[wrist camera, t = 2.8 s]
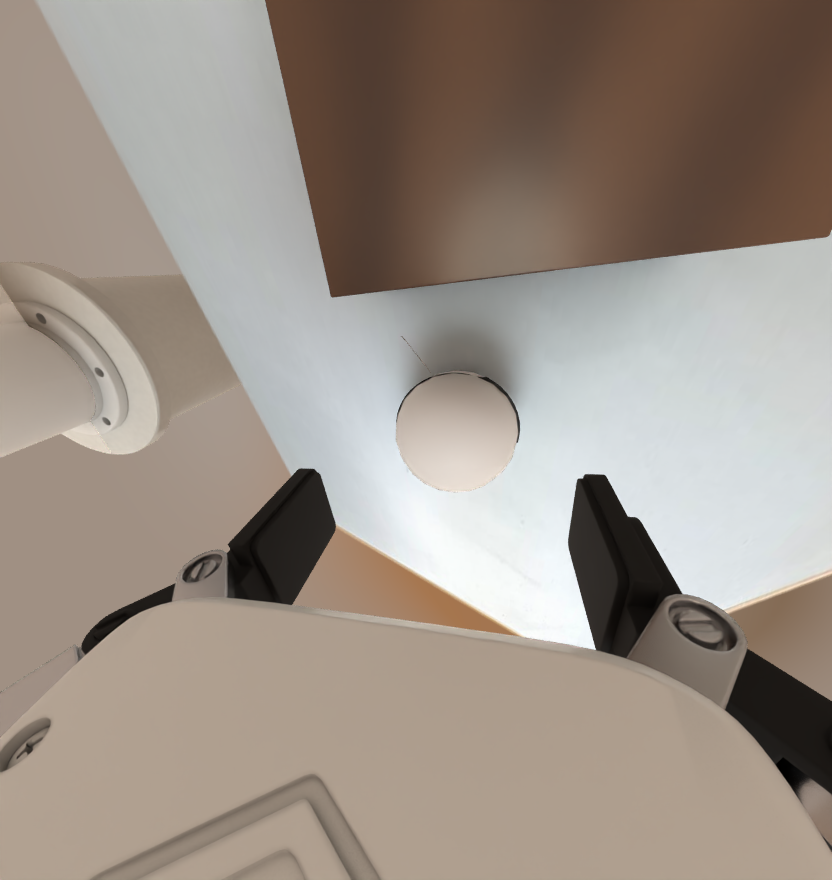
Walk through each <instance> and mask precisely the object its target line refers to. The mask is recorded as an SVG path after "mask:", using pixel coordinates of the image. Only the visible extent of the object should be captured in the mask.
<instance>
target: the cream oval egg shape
mask: <svg viewBox="0 0 832 880" xmlns="http://www.w3.org/2000/svg"><path fill="white" fill-rule="evenodd" d="M402 338H403V337H402ZM403 339H404V338H403ZM404 340H405V339H404ZM405 341H406V340H405ZM406 342H407V341H406ZM407 343H408V342H407ZM409 346H410V345H409ZM410 347H411V346H410ZM412 350H413V349H412ZM413 351H414V350H413ZM415 354H416V353H415ZM416 355H417V354H416ZM417 356H418V355H417ZM419 359H420V358H419ZM420 360H421V359H420ZM421 361H422V360H421ZM422 362H423V361H422ZM423 363H424V362H423ZM425 366H426V365H425ZM426 367H427V366H426ZM427 369H428V368H427ZM428 370H429V369H428ZM430 373H431V372H430ZM519 434H520V421H519V416H518V412H517V410H516V407H515V405H514V403H513V401H512V399H511V398H510V397H509V395H508V394H507V393H506V392H505V391H504V390H503V388H502V387H501V386H499V385H498V384H497V383H495V382H494V381H492V380H491V379H489V378H487V377H483V376H480V375H478V374H476V373H474V372H466V371H457V370H454V371H449V372H443V373H438V374H436V375H434V376H432V377H429V378H427V379H425V380H423V381H422V382H420V383H419V384H417V385H416V386H415V387H413V388H412V389H411V390H410V391H409V392H408V394H407V395H406V396H405V398H404V399H403V401H402V403H401V405H400V407H399V410H398V413H397V420H396V442H397V445H398V448H399V451H400V455H401V457H402V459H403V460H404V462H405V464H406V465H407V466H408V468H409V469H410V471H411V472H412V474H413V475H415V476H416V477H417V478H418V479H420V480H421V481H422V482H423V483H425V484H427V485H429V486H431V487H434V488H436V489H438V490H443V491H449V492H465V491H471V490H474V489H477V488H480V487H482V486H485V485H486V484H487V483H489V482H490V481H491V480H493V479H494V478H495V477H497V476H498V475H499V474H500V473H502V472H503V470H504V469H505V468H506V466H507V465H508V463H509V462H510V460H511V459H512V457H513V453H514V449H515V445H516V443H518V439H519Z"/></svg>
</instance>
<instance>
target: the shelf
mask: <svg viewBox="0 0 832 880" xmlns="http://www.w3.org/2000/svg"><path fill="white" fill-rule="evenodd" d="M265 2H266V6H267V11H268V15H269V20H270V24H271V29H272V33H273V38H274V42H275V47H276V51H277V56H278V60H279V65H280V69H281V74H282V78H283V83H284V87H285V92H286V96H287V101H288V105H289V110H290V114H291V119H292V123H293V128H294V132H295V137H296V141H297V146H298V150H299V155H300V159H301V164H302V168H303V173H304V177H305V182H306V186H307V191H308V195H309V200H310V204H311V209H312V213H313V218H314V222H315V227H316V231H317V236H318V240H319V245H320V249H321V254H322V258H323V263H324V267H325V272H326V276H327V281H328V285H329V290H330V294H331V297H332V298H333V297H341V296H349V295H357V294H365V293H374V292H382V291H390V290H398V289H406V288H415V287H423V286H431V285H439V284H447V283H456V282H464V281H472V280H480V279H488V278H497V277H505V276H513V275H521V274H529V273H537V272H546V271H554V270H562V269H570V268H578V267H587V266H595V265H603V264H611V263H619V262H628V261H636V260H644V259H652V258H660V257H669V256H677V255H685V254H693V253H701V252H710V251H718V250H726V249H734V248H742V247H750V246H759V245H767V244H775V243H783V242H791V241H800V240H808V239H816V238H824V237H828V236H829V235H830V232H831V230H832V0H265Z"/></svg>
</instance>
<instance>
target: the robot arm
mask: <svg viewBox="0 0 832 880" xmlns="http://www.w3.org/2000/svg"><path fill="white" fill-rule="evenodd" d="M127 412H128V399H127V394H126V389H125V387H124V384H123V381H122V379H121V376H120V375H119V373H118V371H117V369H116V367H115V365H114V364H113V362H112V361H111V359H110V358H109V356H108V355H107V354H106V352H105V351H104V350H103V349H102V348H101V346H100V345H99V344H98V343H97V342H96V340H95V339H94V338H92V337H91V336H90V335H89V334H88V333H87V332H86V331H85V330H84V329H83V328H82V327H80V326H79V325H78V324H77V323H75V322H74V321H73V320H71V319H70V318H68V317H67V316H65V315H63V314H62V313H60V312H58V311H57V310H55V309H53V308H50V307H48V306H46V305H43V304H40V303H35V302H31V301H17V302H8V303H2V304H1V305H0V458H1V457H3V456H5V455H8V454H11V453H13V452H16V451H18V450H21V449H23V448H25V447H28V446H31V445H33V444H36V443H38V442H40V441H43V440H46V439H48V438H50V437H53V436H55V435H58V434H61V433H63V432H65V431H68V430H70V429H71V430H73V431H76V432H79V433H83V434H88V435H100V434H105V433H107V432H110V431H112V430H115V429H116V428H118V427H119V426H121V425H122V423H123V422H124V420H125V419H126V415H127ZM335 528H336V524H335V520H334V517H333V514H332V511H331V508H330V504H329V501H328V498H327V495H326V492H325V488H324V485H323V482H322V479H321V476H320V474H319V473H317V472H316V470H315V469H298V470H297V471H296V472H295V473H294V474H293V475H292V477H291V478H290V479H289V480H288V481H287V482H286V483H285V484H284V485H283V486H282V487H281V488H280V489H279V490H278V491H277V492H276V494H275V495H274V496H273V497H272V498H271V499H270V500H269V501H268V502H267V503H266V504H265V505H264V507H262V508H261V510H260V511H259V512H258V513H257V514H256V515H255V516H254V517H253V518H252V519H251V520H250V521H249V522H248V523H247V525H246V526H245V527H244V528H243V529H242V530H241V531H240V532H239V533H238V534H237V535H236V536H235V537H234V539H232V540H231V541H230V543H229V544H228V545H229V547H230V551H229V552H228V553H226V552H224V551H222V550H211V551H208V552H204V553H202V554H200V555H198V556H196V557H195V558H193V559H192V560H190V561H189V562H188V563H187V564H186V565H184V566H183V568H182V569H181V570H180V572H179V573H178V576H177V578H176V583H175V584H173V585H171V586H168V587H166V588H164V589H162V590H160V591H158V592H156V593H153V594H152V595H149V596H147V597H145V598H143V599H140V600H138V601H136V602H134V603H132V604H130V605H128V606H125V607H123V608H121V609H119V610H117V611H115V612H113V613H111V614H109V615H108V616H106V617H105V618H103V619H102V620H101V621H100V622H99V623H98V624H97V625H95V626H94V627H93V628H92V629H91V630H90V632H89V633H88V634H87V635H86V637H85V639H84V641H83V643H82V646H81V647H77V646H76V645H73V646H72V647H70V648H69V649H67V650H66V651H64V652H63V653H61V654H59V655H58V656H56V657H55V658H53V659H51V660H50V661H48V662H47V663H45V664H44V665H42V666H41V667H39V668H37V669H36V670H34V671H33V672H31V673H30V674H28V675H26V676H25V677H23V678H22V679H20V680H19V681H17V682H15V683H14V684H12V685H11V686H9V687H8V688H6V689H5V690H3V691H1V692H0V880H832V701H830V700H829V699H827V698H825V697H824V696H822V695H821V694H819V693H817V692H816V691H814V690H813V689H811V688H809V687H808V686H806V685H805V684H803V683H802V682H800V681H798V680H797V679H795V678H793V677H792V676H790V675H789V674H787V673H786V672H784V671H782V670H781V669H779V668H778V667H776V666H774V665H773V664H771V663H770V662H768V661H766V660H765V659H763V658H762V657H760V656H758V655H757V654H755V653H754V652H752V651H750V650H748V649H747V639H746V637H745V634H744V632H743V630H742V629H741V628H740V626H739V625H738V624H737V623H736V621H735V620H734V619H733V618H732V617H730V616H729V615H728V614H727V613H726V612H725V611H723V610H722V609H720V608H719V607H717V606H715V605H714V604H712V603H710V602H708V601H706V600H703V599H701V598H699V597H695V596H691V595H687V594H682V592H681V591H680V589H679V587H678V585H677V584H676V582H675V580H674V578H673V577H672V575H671V573H670V571H669V570H668V568H667V566H666V564H665V563H664V561H663V559H662V558H661V556H660V554H659V552H658V551H657V549H656V547H655V545H654V544H653V542H652V540H651V538H650V537H649V535H648V533H647V531H646V530H645V528H644V526H643V524H642V523H641V521H640V520H639V519H638V518H636V517H628V516H627V514H626V512H625V511H624V509H623V507H622V505H621V503H620V501H619V499H618V498H617V496H616V494H615V492H614V490H613V488H612V486H611V484H610V483H609V481H608V479H607V477H606V476H605V475H595V474H585V475H584V477H583V479H578V480H577V484H576V491H575V497H574V504H573V511H572V518H571V524H570V531H569V538H568V546H569V551H570V555H571V559H572V562H573V566H574V570H575V574H576V577H577V581H578V585H579V588H580V592H581V596H582V600H583V603H584V607H585V611H586V615H587V618H588V622H589V626H590V629H591V633H592V637H593V641H594V644H595V648H596V650H592V649H587V648H583V647H578V646H573V645H568V644H562V643H556V642H550V641H543V640H537V639H531V638H524V637H518V636H512V635H506V634H498V633H491V632H484V631H477V630H470V629H463V628H456V627H449V626H442V625H435V624H428V623H421V622H414V621H406V620H399V619H392V618H385V617H378V616H370V615H363V614H356V613H348V612H341V611H333V610H325V609H317V608H310V607H303V606H295V605H292V604H293V602H294V601H295V599H296V597H297V596H298V594H299V592H300V590H301V589H302V587H303V585H304V583H305V582H306V580H307V578H308V577H309V575H310V573H311V572H312V570H313V568H314V566H315V565H316V563H317V561H318V560H319V558H320V556H321V555H322V553H323V551H324V549H325V548H326V546H327V544H328V543H329V541H330V539H331V537H332V536H333V534H334V532H335Z"/></svg>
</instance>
